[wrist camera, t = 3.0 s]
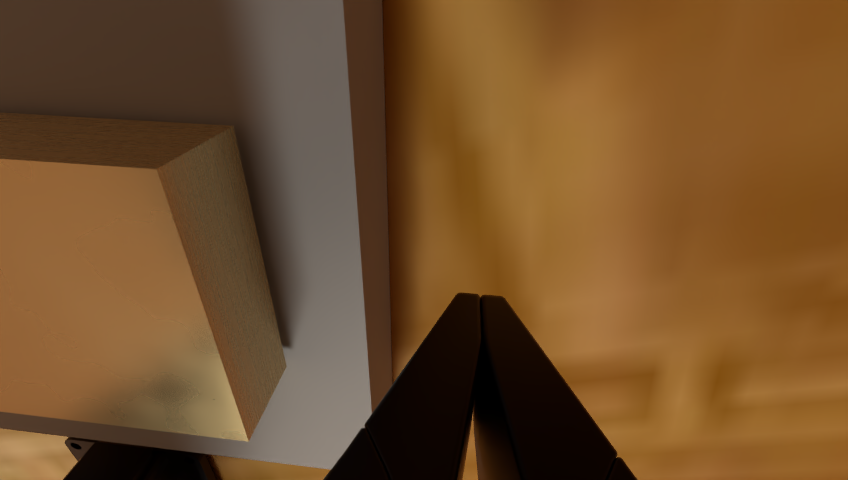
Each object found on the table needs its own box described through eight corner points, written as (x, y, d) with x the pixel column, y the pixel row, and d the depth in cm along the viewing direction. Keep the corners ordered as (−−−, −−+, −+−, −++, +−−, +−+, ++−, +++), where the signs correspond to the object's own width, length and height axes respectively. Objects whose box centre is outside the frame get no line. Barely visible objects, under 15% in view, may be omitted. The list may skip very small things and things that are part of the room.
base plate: (392, 395, 15) (376, 475, 13) (-39, 348, 17) (-130, 411, 14) (380, -68, 8) (336, -93, 6) (-380, -80, 10) (-689, -104, 7)
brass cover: (286, 366, 10) (248, 441, 9) (64, 343, 11) (-14, 410, 9) (233, 125, 7) (156, 169, 5) (-79, 108, 8) (-239, 142, 6)
